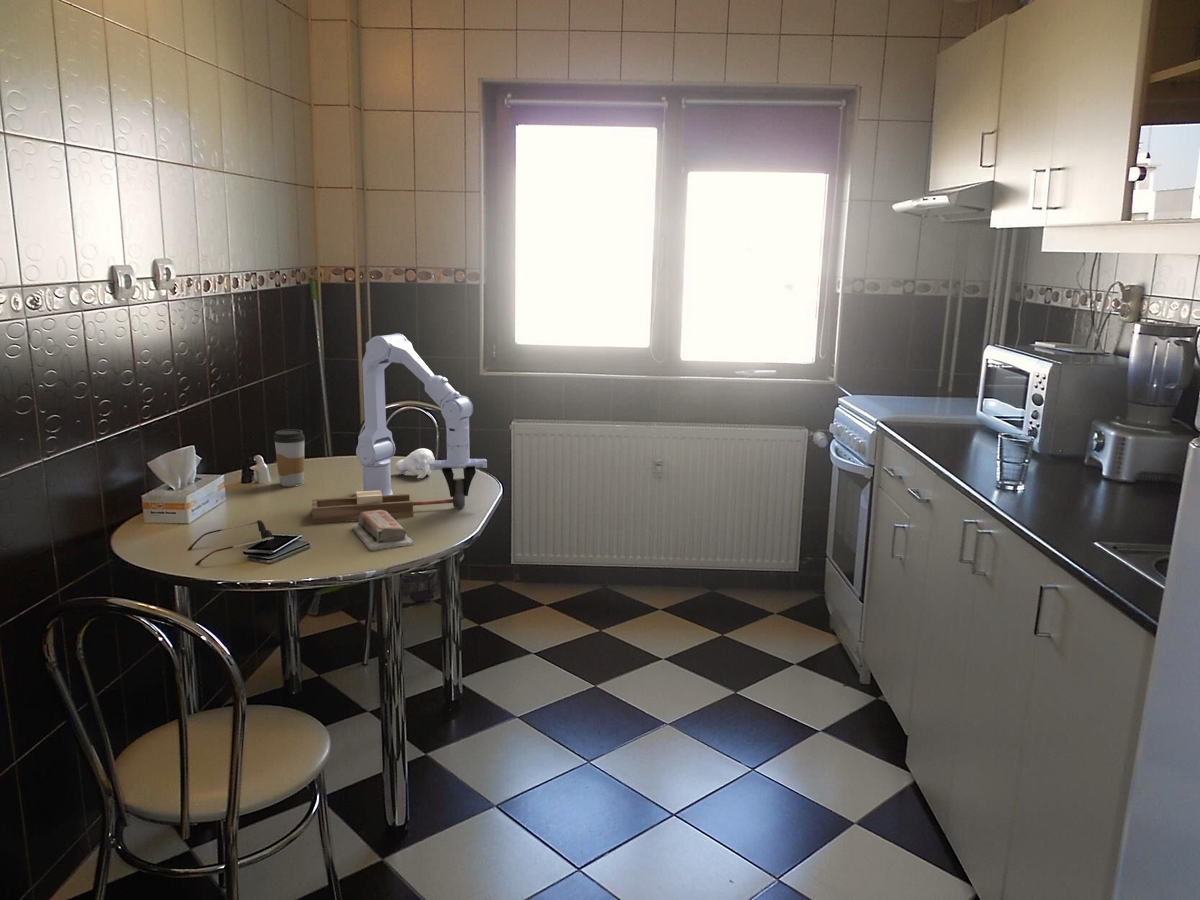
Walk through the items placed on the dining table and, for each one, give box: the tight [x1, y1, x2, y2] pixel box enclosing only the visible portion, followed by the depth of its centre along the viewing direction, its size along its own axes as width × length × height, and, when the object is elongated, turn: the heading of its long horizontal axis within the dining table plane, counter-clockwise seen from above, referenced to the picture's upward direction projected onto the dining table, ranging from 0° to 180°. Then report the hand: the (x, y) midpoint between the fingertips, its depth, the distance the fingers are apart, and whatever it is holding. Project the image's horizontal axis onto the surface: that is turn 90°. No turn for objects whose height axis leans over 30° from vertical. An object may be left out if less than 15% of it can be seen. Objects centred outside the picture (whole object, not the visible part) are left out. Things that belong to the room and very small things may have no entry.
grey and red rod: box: [355, 477, 466, 508], centre depth 229 cm, size 5×27×7 cm, turn 108°
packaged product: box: [351, 510, 415, 551], centre depth 209 cm, size 18×5×10 cm
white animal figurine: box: [394, 447, 436, 479], centre depth 264 cm, size 6×8×12 cm
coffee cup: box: [273, 428, 306, 487], centre depth 251 cm, size 8×8×15 cm
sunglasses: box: [187, 519, 275, 566], centre depth 197 cm, size 14×16×5 cm
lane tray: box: [311, 493, 414, 524], centre depth 226 cm, size 10×24×4 cm, turn 108°
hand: (458, 495), depth 233 cm, fingers closed on grey and red rod, 3 cm apart
